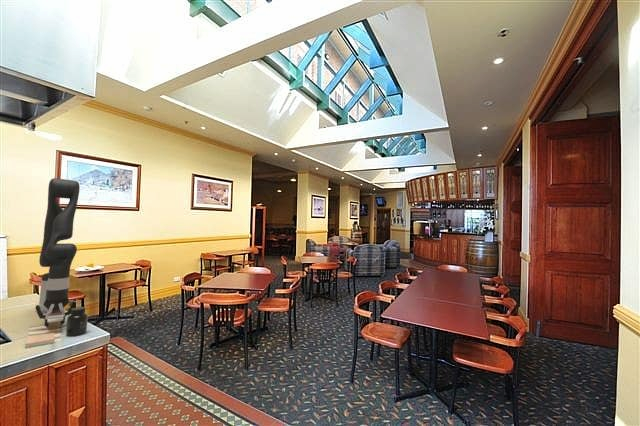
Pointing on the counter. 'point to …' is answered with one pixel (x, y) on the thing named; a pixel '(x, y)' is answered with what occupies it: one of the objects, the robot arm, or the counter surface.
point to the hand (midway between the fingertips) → (54, 325)
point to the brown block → (55, 320)
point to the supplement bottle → (76, 322)
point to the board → (44, 332)
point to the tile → (39, 340)
